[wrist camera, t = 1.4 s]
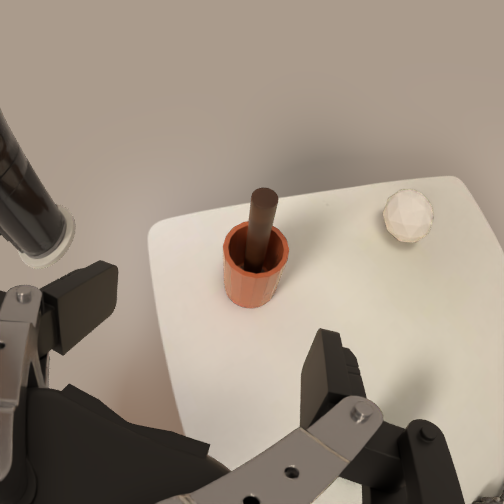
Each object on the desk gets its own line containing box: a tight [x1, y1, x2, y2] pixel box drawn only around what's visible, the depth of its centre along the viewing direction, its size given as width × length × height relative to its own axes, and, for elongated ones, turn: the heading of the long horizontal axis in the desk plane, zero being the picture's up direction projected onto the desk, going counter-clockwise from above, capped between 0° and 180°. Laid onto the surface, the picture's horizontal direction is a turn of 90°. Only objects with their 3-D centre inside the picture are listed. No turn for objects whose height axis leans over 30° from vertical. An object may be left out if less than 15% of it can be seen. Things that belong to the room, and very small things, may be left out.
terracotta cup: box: [223, 221, 289, 308], centre depth 33 cm, size 6×6×9 cm
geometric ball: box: [383, 189, 434, 242], centre depth 39 cm, size 8×8×8 cm
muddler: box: [240, 188, 278, 274], centre depth 29 cm, size 4×4×16 cm
